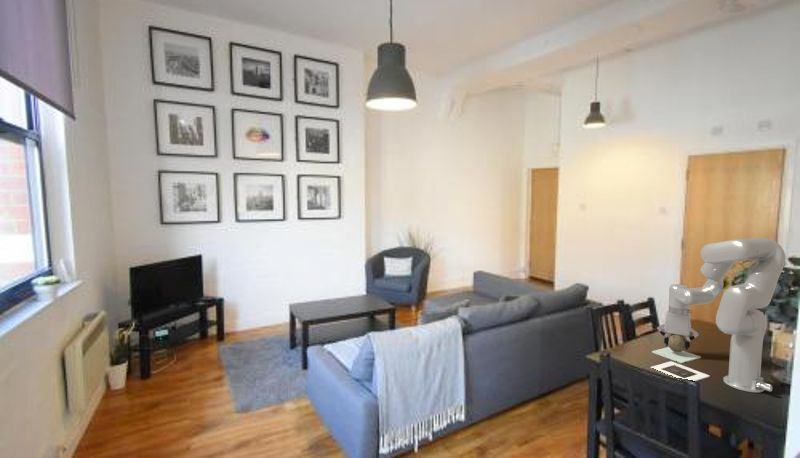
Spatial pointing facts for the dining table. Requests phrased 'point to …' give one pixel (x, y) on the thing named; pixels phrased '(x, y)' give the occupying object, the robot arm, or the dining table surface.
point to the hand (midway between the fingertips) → (676, 346)
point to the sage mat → (676, 355)
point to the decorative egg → (676, 343)
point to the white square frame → (670, 364)
